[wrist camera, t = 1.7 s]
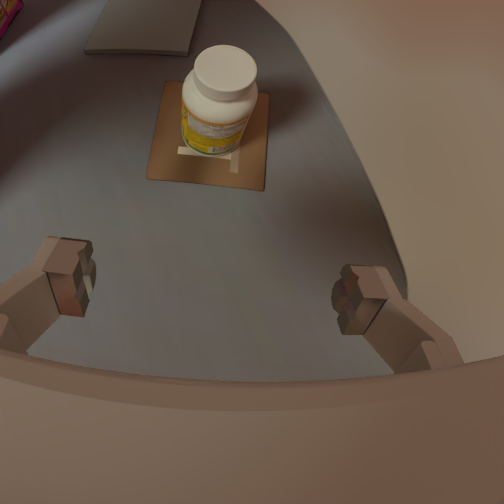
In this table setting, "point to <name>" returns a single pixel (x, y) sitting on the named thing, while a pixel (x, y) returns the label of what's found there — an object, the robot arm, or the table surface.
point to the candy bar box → (8, 13)
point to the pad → (144, 27)
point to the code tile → (202, 167)
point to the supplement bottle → (218, 100)
